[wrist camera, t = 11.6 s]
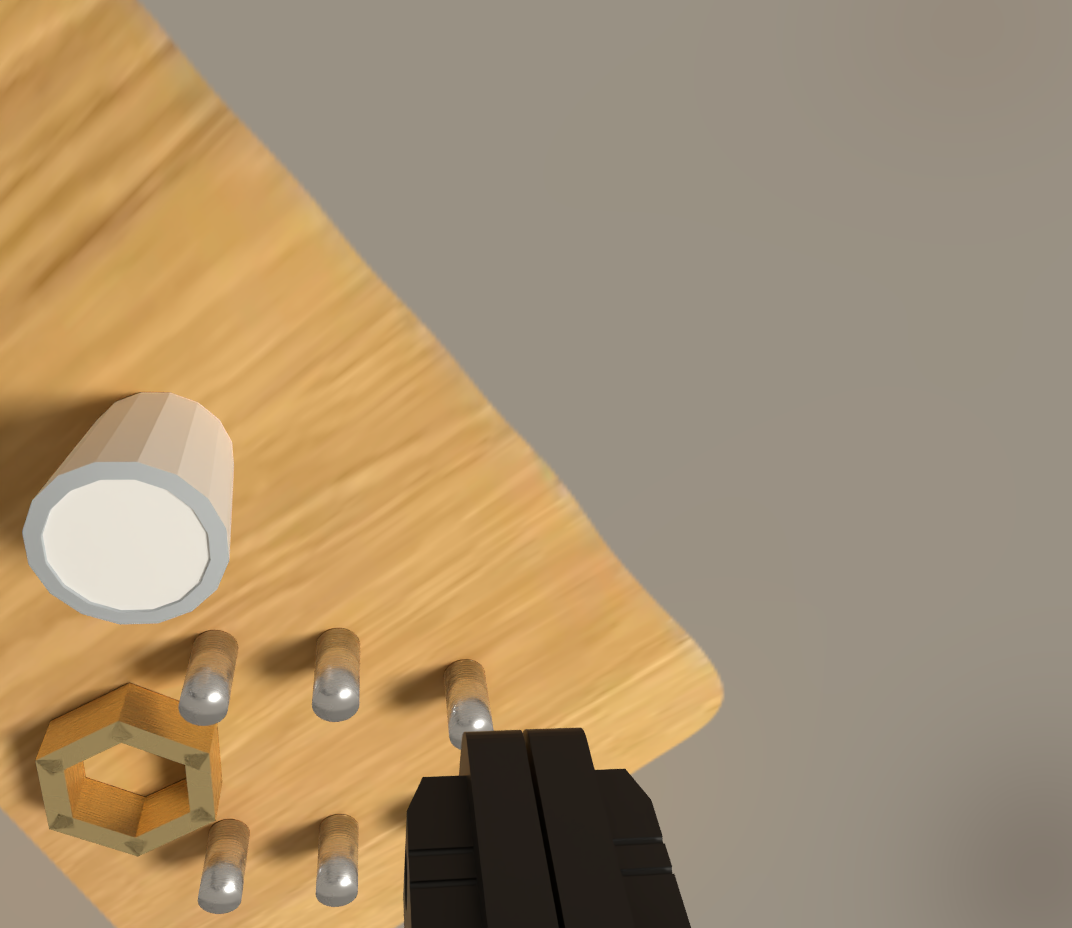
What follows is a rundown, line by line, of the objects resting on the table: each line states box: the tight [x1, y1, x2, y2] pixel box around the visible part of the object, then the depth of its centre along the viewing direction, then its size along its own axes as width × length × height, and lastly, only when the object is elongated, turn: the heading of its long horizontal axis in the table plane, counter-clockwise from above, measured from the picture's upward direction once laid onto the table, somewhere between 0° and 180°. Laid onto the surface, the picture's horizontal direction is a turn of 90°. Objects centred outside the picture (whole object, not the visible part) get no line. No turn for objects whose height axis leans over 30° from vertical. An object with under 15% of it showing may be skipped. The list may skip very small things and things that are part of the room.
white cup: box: [22, 392, 234, 624], centre depth 38 cm, size 7×7×7 cm
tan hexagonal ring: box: [35, 683, 222, 856], centre depth 48 cm, size 7×9×2 cm
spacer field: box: [178, 628, 493, 914], centre depth 49 cm, size 14×14×4 cm
